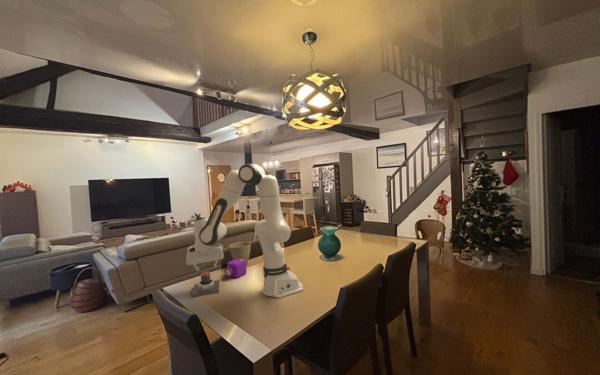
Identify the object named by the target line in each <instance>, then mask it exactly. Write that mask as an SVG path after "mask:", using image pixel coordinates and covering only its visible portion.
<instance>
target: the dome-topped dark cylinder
mask: <svg viewBox="0 0 600 375" xmlns="http://www.w3.org/2000/svg"><path fill="white" fill-rule="evenodd" d="M210 278H211V273H210V271H203V272H200V281H201V284H208V283H210Z"/></svg>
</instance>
